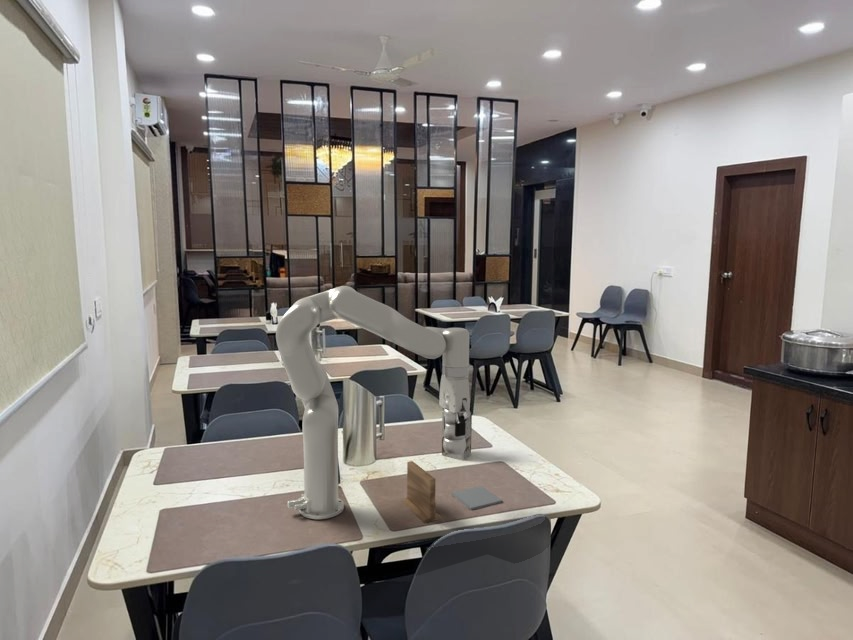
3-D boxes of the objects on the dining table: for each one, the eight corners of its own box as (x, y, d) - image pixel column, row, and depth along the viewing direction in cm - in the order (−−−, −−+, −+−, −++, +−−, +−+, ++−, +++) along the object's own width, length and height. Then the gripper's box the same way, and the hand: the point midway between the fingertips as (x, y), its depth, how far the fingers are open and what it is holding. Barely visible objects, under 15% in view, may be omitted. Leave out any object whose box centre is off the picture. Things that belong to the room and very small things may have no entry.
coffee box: (471, 455, 202) (472, 411, 200) (463, 460, 197) (464, 416, 195) (449, 449, 207) (450, 407, 205) (440, 455, 202) (441, 411, 200)
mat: (470, 509, 161) (470, 507, 161) (451, 494, 170) (451, 492, 170) (502, 502, 166) (502, 500, 166) (481, 487, 176) (481, 485, 176)
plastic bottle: (464, 458, 159) (465, 390, 156) (440, 456, 161) (441, 388, 158) (467, 450, 166) (468, 384, 163) (444, 448, 167) (445, 383, 164)
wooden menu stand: (424, 522, 153) (424, 481, 151) (401, 501, 165) (402, 462, 164) (440, 518, 155) (440, 477, 154) (416, 498, 168) (417, 460, 166)
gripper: (429, 366, 165) (429, 425, 168) (459, 379, 150) (458, 444, 153) (451, 364, 169) (450, 422, 171) (483, 376, 154) (481, 439, 156)
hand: (454, 431), depth 162 cm, fingers closed on plastic bottle, 5 cm apart
